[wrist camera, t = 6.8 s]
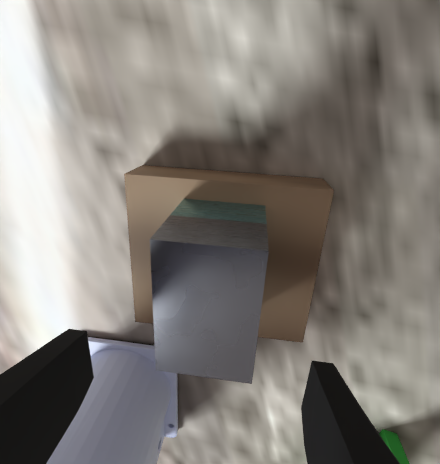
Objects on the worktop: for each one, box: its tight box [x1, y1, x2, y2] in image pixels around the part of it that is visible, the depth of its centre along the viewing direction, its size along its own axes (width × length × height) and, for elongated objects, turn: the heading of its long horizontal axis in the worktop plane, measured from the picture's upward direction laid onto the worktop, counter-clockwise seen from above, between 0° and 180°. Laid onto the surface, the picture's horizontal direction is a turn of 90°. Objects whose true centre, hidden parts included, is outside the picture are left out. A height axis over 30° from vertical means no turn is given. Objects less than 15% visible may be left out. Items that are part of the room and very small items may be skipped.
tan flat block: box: [124, 165, 334, 342], centre depth 17 cm, size 9×10×2 cm
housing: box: [150, 199, 269, 384], centre depth 13 cm, size 6×4×5 cm, turn 177°
